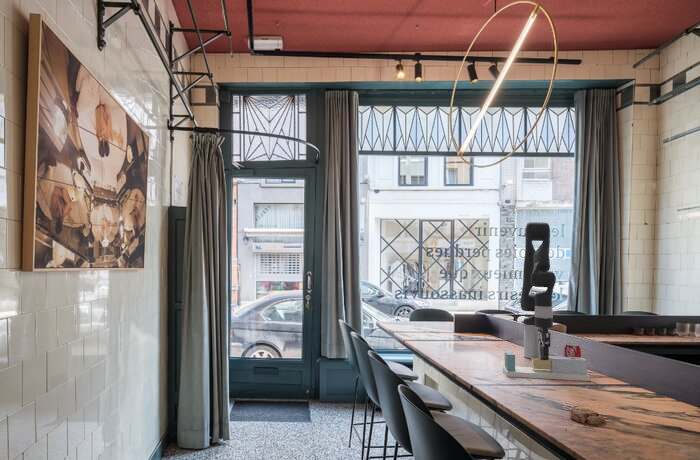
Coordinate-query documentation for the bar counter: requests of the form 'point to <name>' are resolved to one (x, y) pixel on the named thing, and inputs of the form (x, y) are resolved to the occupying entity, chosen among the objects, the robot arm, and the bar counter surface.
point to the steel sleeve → (568, 365)
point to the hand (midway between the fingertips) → (544, 354)
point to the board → (543, 374)
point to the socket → (509, 361)
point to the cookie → (586, 416)
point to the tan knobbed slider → (542, 361)
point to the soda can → (572, 350)
